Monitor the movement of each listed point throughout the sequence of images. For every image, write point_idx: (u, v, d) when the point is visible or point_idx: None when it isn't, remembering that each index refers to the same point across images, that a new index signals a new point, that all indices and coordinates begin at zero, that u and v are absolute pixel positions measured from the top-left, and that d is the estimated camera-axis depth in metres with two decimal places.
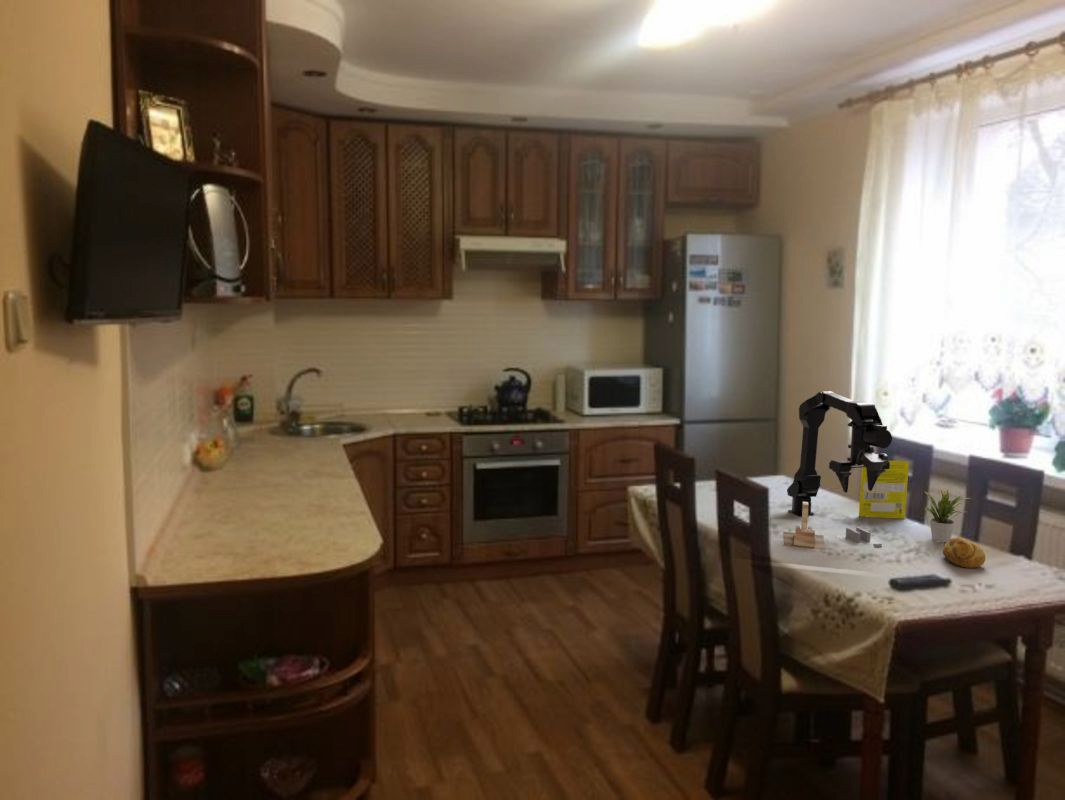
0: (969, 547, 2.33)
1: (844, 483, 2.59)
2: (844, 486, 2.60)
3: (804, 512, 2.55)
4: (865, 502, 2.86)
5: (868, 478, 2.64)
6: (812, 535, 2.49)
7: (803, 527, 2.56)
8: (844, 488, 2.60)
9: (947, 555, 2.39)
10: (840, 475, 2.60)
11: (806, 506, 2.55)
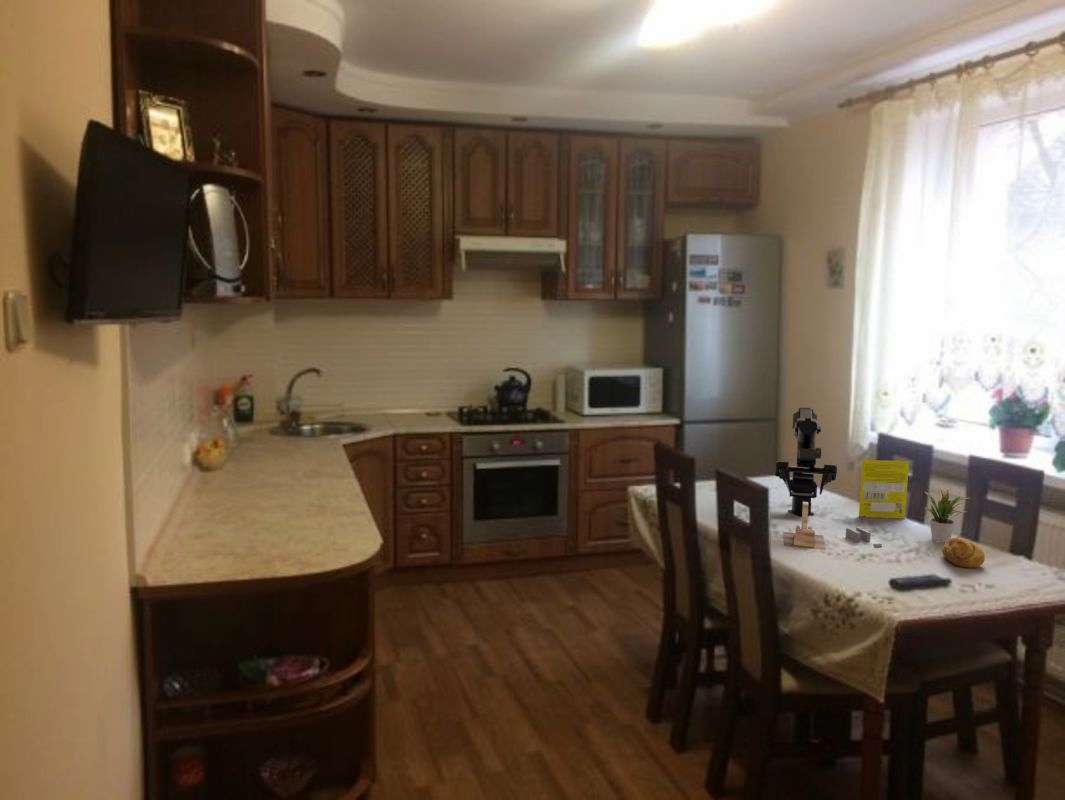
0: (968, 547, 2.33)
1: (786, 482, 2.67)
2: (787, 485, 2.66)
3: (804, 512, 2.55)
4: (865, 502, 2.86)
5: None
6: (812, 535, 2.49)
7: (803, 527, 2.56)
8: (788, 487, 2.66)
9: (946, 555, 2.39)
10: (785, 479, 2.70)
11: (806, 506, 2.55)
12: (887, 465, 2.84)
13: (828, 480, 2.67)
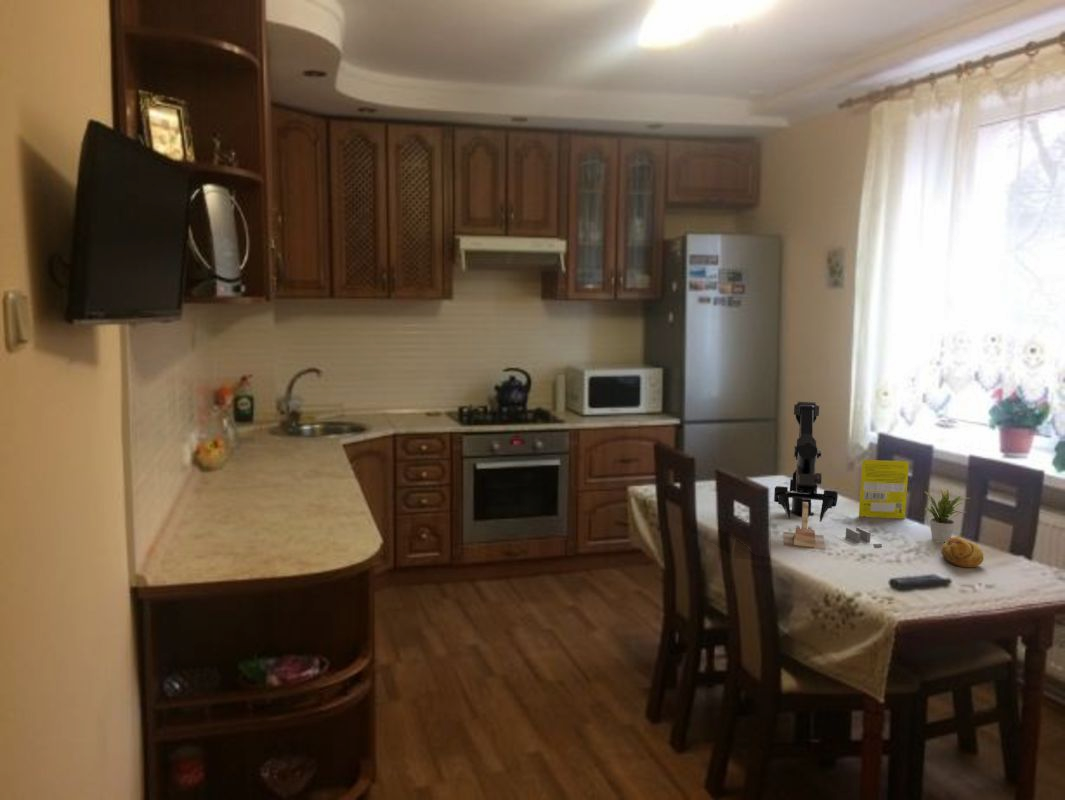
0: (967, 547, 2.33)
1: (786, 508, 2.59)
2: (786, 512, 2.59)
3: (804, 512, 2.55)
4: (865, 502, 2.86)
5: None
6: (812, 535, 2.49)
7: (803, 527, 2.56)
8: (787, 514, 2.58)
9: (945, 554, 2.39)
10: (784, 505, 2.62)
11: (806, 506, 2.55)
12: (887, 465, 2.84)
13: (828, 506, 2.60)
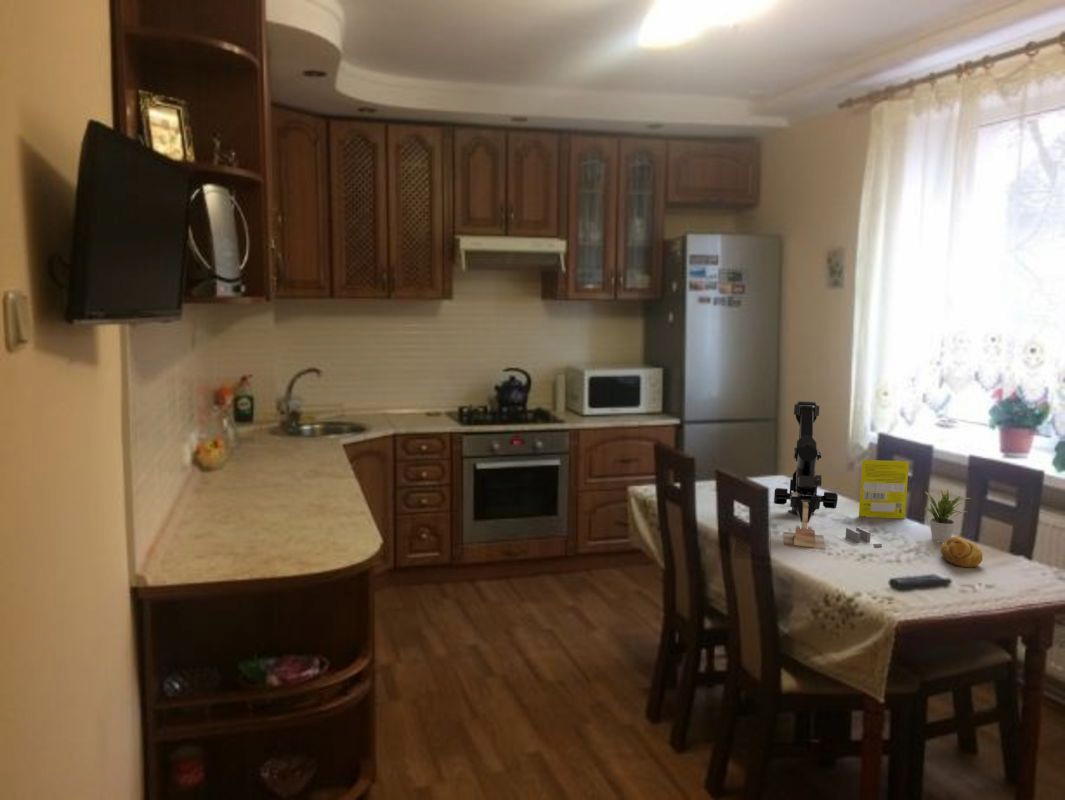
0: (965, 546, 2.33)
1: (798, 511, 2.58)
2: (799, 515, 2.57)
3: (804, 512, 2.55)
4: (865, 502, 2.86)
5: None
6: (812, 535, 2.49)
7: (803, 527, 2.56)
8: (799, 517, 2.57)
9: (944, 554, 2.40)
10: (797, 508, 2.61)
11: (806, 506, 2.55)
12: (887, 465, 2.84)
13: (816, 507, 2.60)
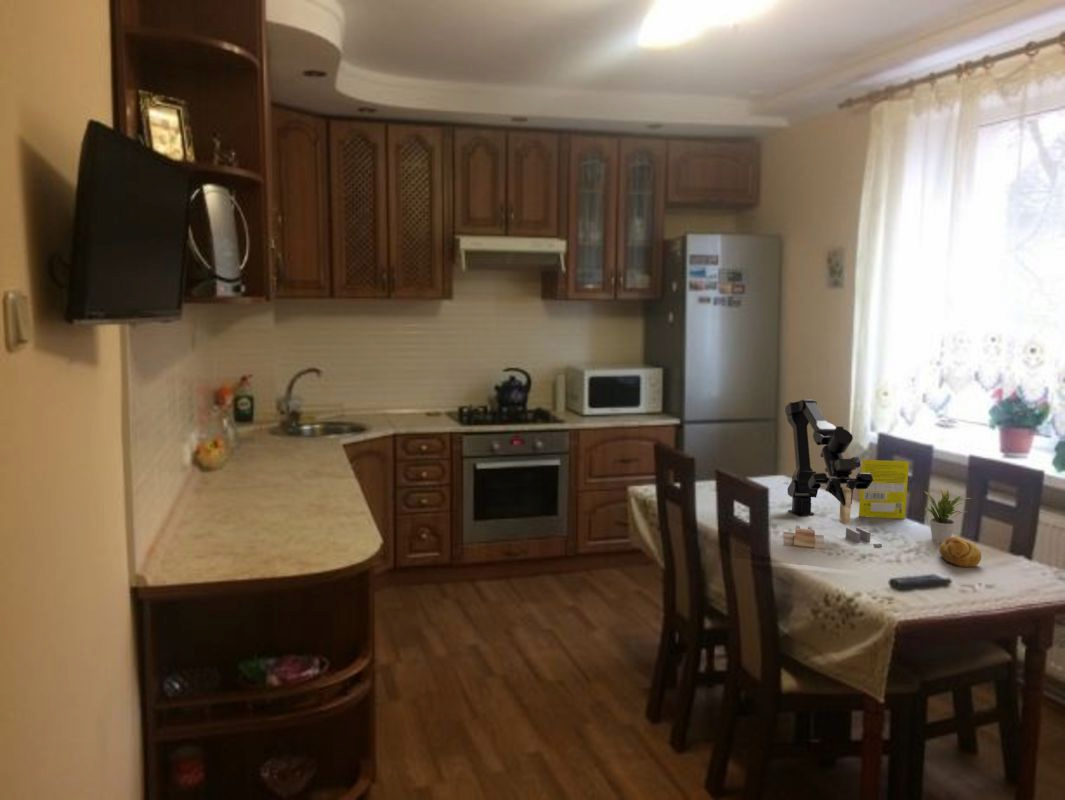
0: (964, 546, 2.34)
1: (839, 495, 2.55)
2: (840, 498, 2.55)
3: (848, 497, 2.53)
4: (865, 502, 2.86)
5: None
6: (812, 535, 2.49)
7: (847, 512, 2.53)
8: (841, 500, 2.54)
9: (943, 554, 2.40)
10: (834, 491, 2.58)
11: (849, 491, 2.53)
12: (887, 465, 2.84)
13: None
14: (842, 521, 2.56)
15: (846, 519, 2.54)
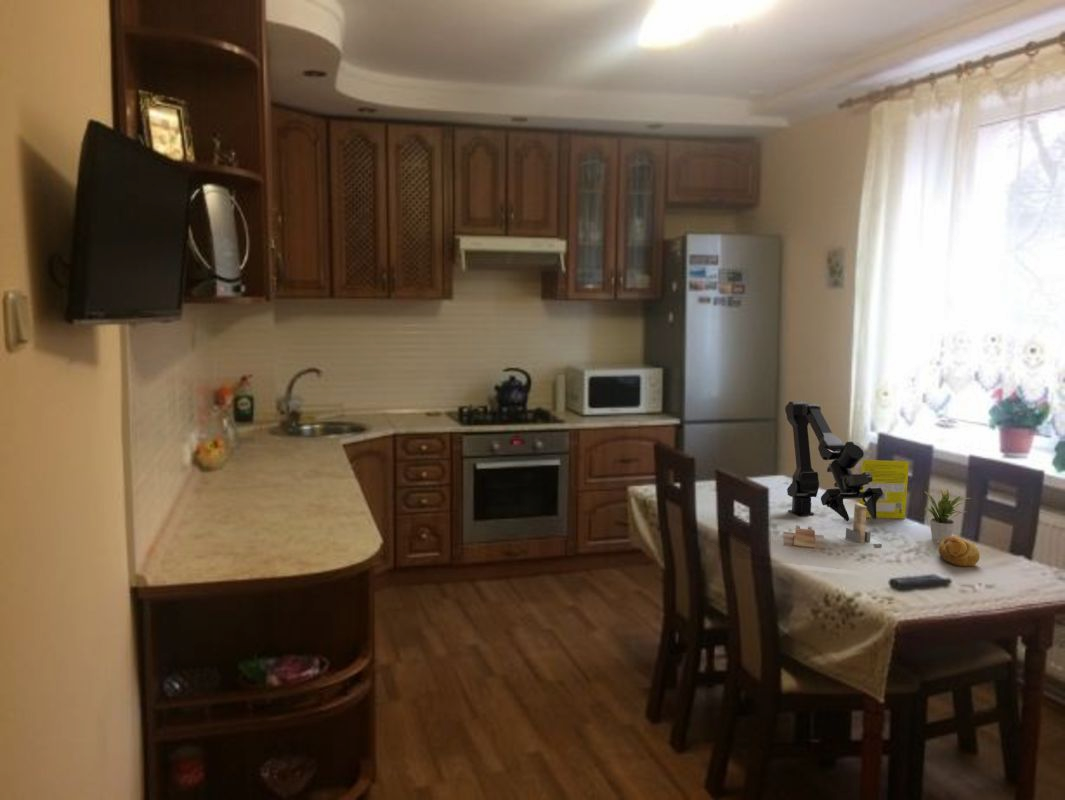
0: (962, 545, 2.34)
1: (842, 510, 2.55)
2: (844, 514, 2.55)
3: (863, 514, 2.54)
4: None
5: (869, 510, 2.59)
6: (812, 535, 2.49)
7: (862, 529, 2.54)
8: (845, 516, 2.55)
9: (941, 553, 2.41)
10: (836, 507, 2.58)
11: (865, 508, 2.54)
12: (887, 465, 2.84)
13: None
14: None
15: (861, 535, 2.55)
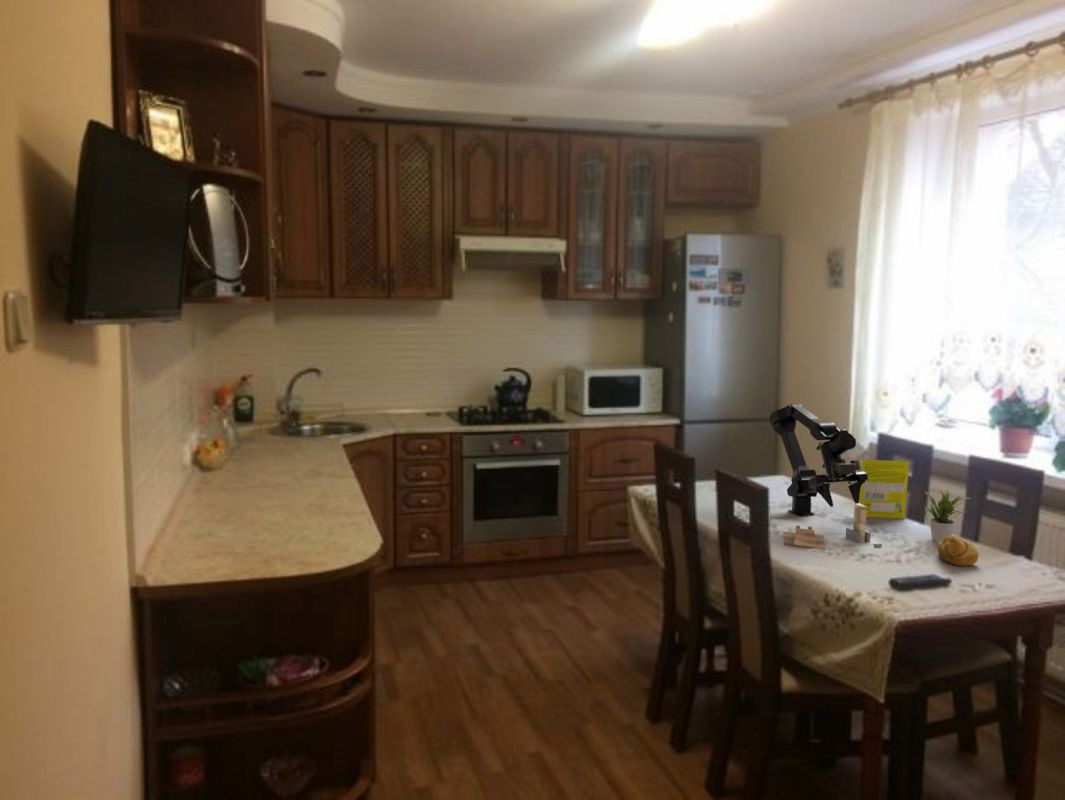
0: (960, 545, 2.35)
1: (827, 497, 2.66)
2: (828, 500, 2.66)
3: (863, 514, 2.54)
4: (865, 502, 2.86)
5: (852, 494, 2.71)
6: (812, 535, 2.49)
7: (862, 529, 2.54)
8: (829, 502, 2.66)
9: (940, 553, 2.41)
10: (822, 491, 2.69)
11: (865, 508, 2.54)
12: (887, 465, 2.84)
13: None
14: None
15: (861, 535, 2.55)
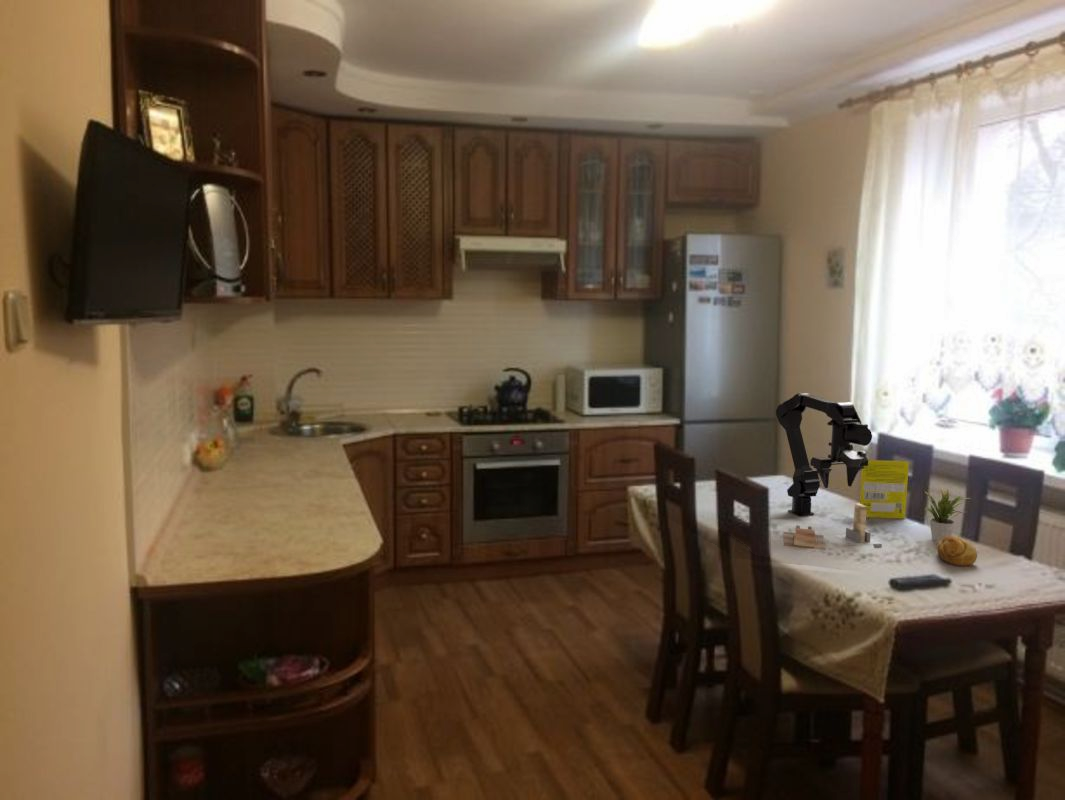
0: (959, 545, 2.35)
1: (824, 479, 2.71)
2: (825, 482, 2.72)
3: (863, 514, 2.54)
4: (865, 502, 2.86)
5: (848, 474, 2.76)
6: (812, 535, 2.49)
7: (862, 529, 2.54)
8: (825, 484, 2.72)
9: (939, 552, 2.41)
10: (821, 471, 2.73)
11: (865, 508, 2.54)
12: (887, 465, 2.84)
13: None
14: None
15: (861, 535, 2.55)
